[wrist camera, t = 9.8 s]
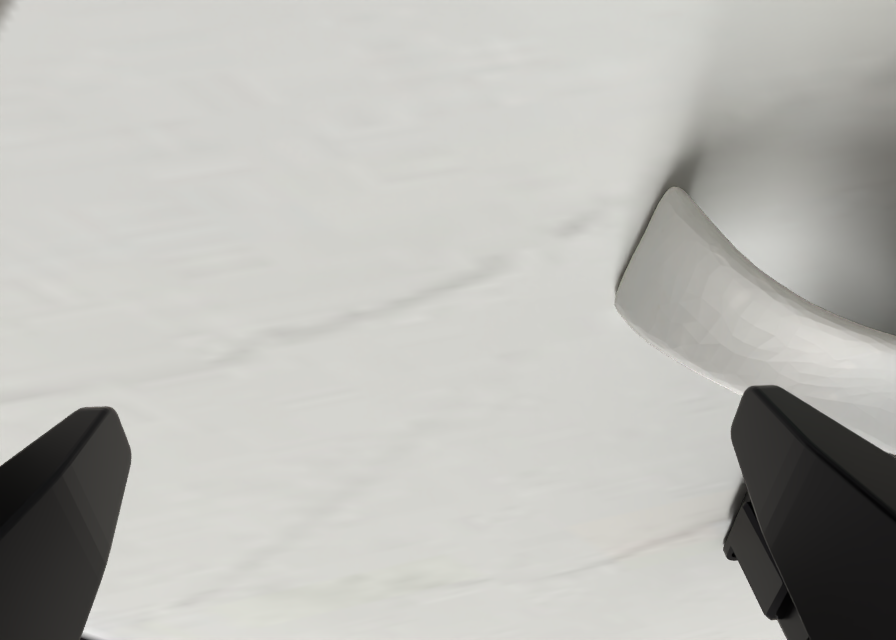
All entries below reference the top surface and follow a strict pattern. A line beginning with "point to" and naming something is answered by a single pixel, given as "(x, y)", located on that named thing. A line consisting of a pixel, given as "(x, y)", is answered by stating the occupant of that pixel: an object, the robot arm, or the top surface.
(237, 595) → the top surface
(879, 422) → the spoon rest
